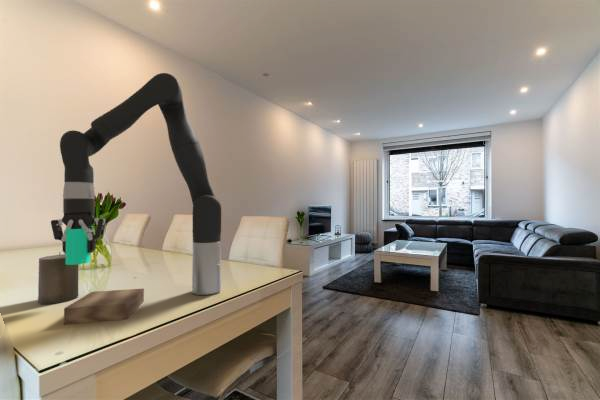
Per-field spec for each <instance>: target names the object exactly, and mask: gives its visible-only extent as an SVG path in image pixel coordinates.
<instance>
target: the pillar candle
mask: <svg viewBox="0 0 600 400" xmlns="http://www.w3.org/2000/svg"><path fill="white" fill-rule="evenodd" d="M37 283H38V284H37V286H38V293H37V295H38V297H37V302H38V304H39V305H53V304H58V303H59V304H60V303H64V302H69V301H72V300H74V299H77V298H78V297H79V264H76V265H66V254H65V253H63V254H62V253H61V252H59V254H55V255H47V256H42V257H39V258H38V282H37Z"/></svg>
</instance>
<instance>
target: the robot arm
mask: <svg viewBox="0 0 600 400" xmlns="http://www.w3.org/2000/svg"><path fill="white" fill-rule="evenodd" d="M184 103H185V102H184V99H183V92H182V89H181V85H180V82H179V80H178V79H177V78H176V77H175V76H174V75H172V74H170V73H167V72H161V73H158V74H156V75H154V76H153V77H151V79H149V80H148V81H147V82H146V83H145V84H144V85H143V86H141V88H139V89H138V90H137V91H135V92H134V93H133V94H131V96H129V97H128V98H126V100H123V102H120V103H119V104H118V105H116V106H114V108H112V109H109V110H108V111H106V112H105V113H103V114H102V115H100V116H98V117H97V118H95V119H94V120H93V121H91V123H90V127H89V129H88V130H86V131H85V132H84V133H83V132H81V131H79V130H72V129H71V130H68V131H66V132H64V133H62V136H61V138H60V140H59V149H60V151H59V152H60V155H61V159H62V160H61V161H62V163H63V166H64V173H63V175H64V179H63V180H64V181H63V182H64V186H63V191H62V192H63V193H62V198H63V199H62V200H63V201H62V202H63V203H62V205H63V206H62V212H63V217H62V218H59V219H52V220H51V221H50V227H51V229H52V234H53V238H54V240H56V241H58V240H59V241H61V242H62V252H63V254H66V229H86V230H85V234H87V237H88V239H89V241H88V253H90V254H91V253H94V251H96V249H97V247H96V246H97V240H98V239H100V238H103V236H104V233H105V228H106V224H107V219H106V218H98V217H97V216H96V215H95V210H96V209H95V207H96V206H95V199H96V196H95V194H96V193H95V187H94V175H95V174H94V167H93V166H92V165H91V164H90V159H89V157H92V156H94V155H95V154H97V153H98V152H100V151H101V150H102V149H103V148H104V147H105V146H106V145H107V144H108V143H109V142H110V141H111V140H113V139H115V138H116V137H118V136H120V135H122V134H123V133H124V132H126V131H127V130H129V129H130V128H132V126H133V125H134V124H136V122H137V121H138V120H139V119H140V118H141V117H143V115H144V114H145V113H147V111H149V110H150V109H152V108H154V107H156V106H157V105H158V107H159V109H160V111H161V114H162V116H163V119H164V121H165V123H166V128H167V136H168V140H169V143H170V144H169V145H170V148H171V151H172V154H173V157H174V159H175V163H176V165H177V167H178V169H179V172H180V174H181V175H182V177H183V179H184V181H185V183H186V185H187V188H188V190H189V193H190V194H189V195H190V198H191V201H192V269H191V270H192V274H191V275H192V277H191V278H192V279H191V280H192V281H191V282H192V285H191V288H192V289H191V291H192V294H193V295H197V296H206V295H213V294H219V293H221V282H222V281H221V279H222V277H221V276H222V275H221V272H222V267H221V265H222V263H221V249H222V248H221V245H222V243H221V241H222V240H221V239H222V238H221V237H222V205H221V203H220V200H218V198H217V197H216V196H215V194H214V192H213V189H212V187H211V183H210V182H209V178H208V171H207V166H206V161H205V157H204V153H203V151H202V150H203V149H202V148H201V144H200V142H199V140H198V138H197V134H196V132H195V130H194V129H193V127H192V125H191V123H190V121H189V118H188V116H187V111H186V109H185V108H186V107H185V104H184ZM63 224H64V225H65V226H66V227H65V229H64V231H63V227H62V226H63ZM94 224H95V225H96V229H94V227H93V225H94ZM89 228H90V230H89ZM95 230H96V231H95Z"/></svg>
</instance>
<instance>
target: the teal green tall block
mask: <svg viewBox="0 0 600 400" xmlns="http://www.w3.org/2000/svg"><path fill="white" fill-rule="evenodd" d="M65 229H66V228H65ZM85 230H86V229H66V265H76V264H78V265H84V264H88V263H91V253H88V241H89V239H88V237H87V234H85ZM89 230H90V228H89Z"/></svg>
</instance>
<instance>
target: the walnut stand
mask: <svg viewBox="0 0 600 400" xmlns="http://www.w3.org/2000/svg"><path fill="white" fill-rule="evenodd" d="M144 297H145V289H144V288H131V289H128V288H127V289H117V290H116V289H114V290H100V291H99V290H98V291H97V290H96V291H91V292H89V293H87V294H86V295H84V296H83V297H81V298H79V299H78V300H76V301H74V302H73V303H70V304H69V305H67V306H65V307H64V309H63V325H73V324H74V325H75V324H84V323H85V324H87V323H94V322H95V323H97V322H99V323H100V322H109V321H119V320H120V321H121V320H127V319H129V318H130V316H132V314H133V313H134V312H135V311H136V310H138V308H139V307H140V306H141V305H142V304H143V303H144V301H145V299H144Z"/></svg>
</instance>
